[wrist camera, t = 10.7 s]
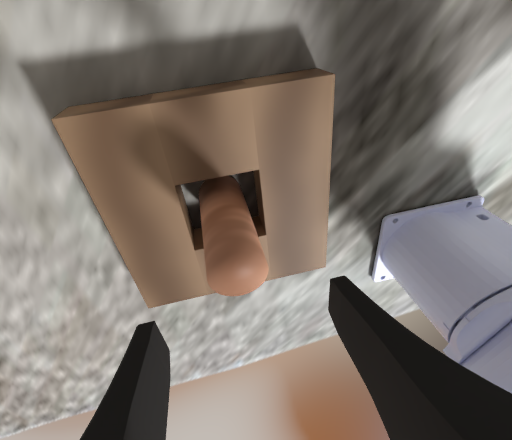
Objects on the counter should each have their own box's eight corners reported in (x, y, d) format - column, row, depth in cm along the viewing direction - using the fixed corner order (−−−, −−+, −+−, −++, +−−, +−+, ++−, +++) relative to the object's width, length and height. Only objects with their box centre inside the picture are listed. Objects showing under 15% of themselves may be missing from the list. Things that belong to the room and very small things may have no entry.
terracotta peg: (238, 170, 19) (265, 243, 13) (243, 207, 21) (270, 288, 15) (194, 179, 19) (200, 258, 13) (203, 215, 21) (213, 301, 14)
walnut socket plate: (316, 68, 17) (335, 74, 15) (314, 247, 25) (325, 266, 23) (68, 106, 15) (51, 119, 13) (151, 283, 23) (148, 308, 21)
